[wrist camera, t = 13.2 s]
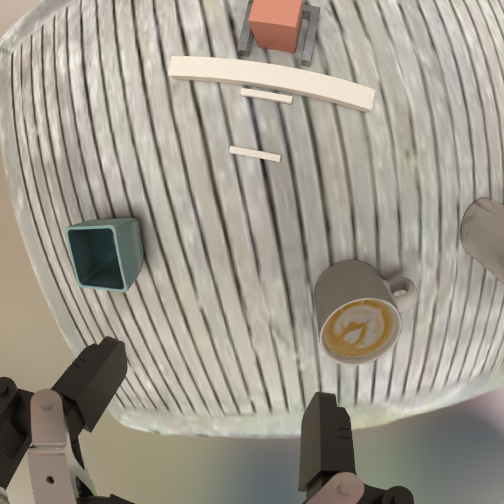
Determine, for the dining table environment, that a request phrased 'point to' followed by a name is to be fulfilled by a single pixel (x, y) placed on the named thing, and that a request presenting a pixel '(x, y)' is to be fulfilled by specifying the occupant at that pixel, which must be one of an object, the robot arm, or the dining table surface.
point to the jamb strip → (271, 85)
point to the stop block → (276, 23)
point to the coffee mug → (360, 312)
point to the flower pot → (106, 253)
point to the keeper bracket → (313, 16)
